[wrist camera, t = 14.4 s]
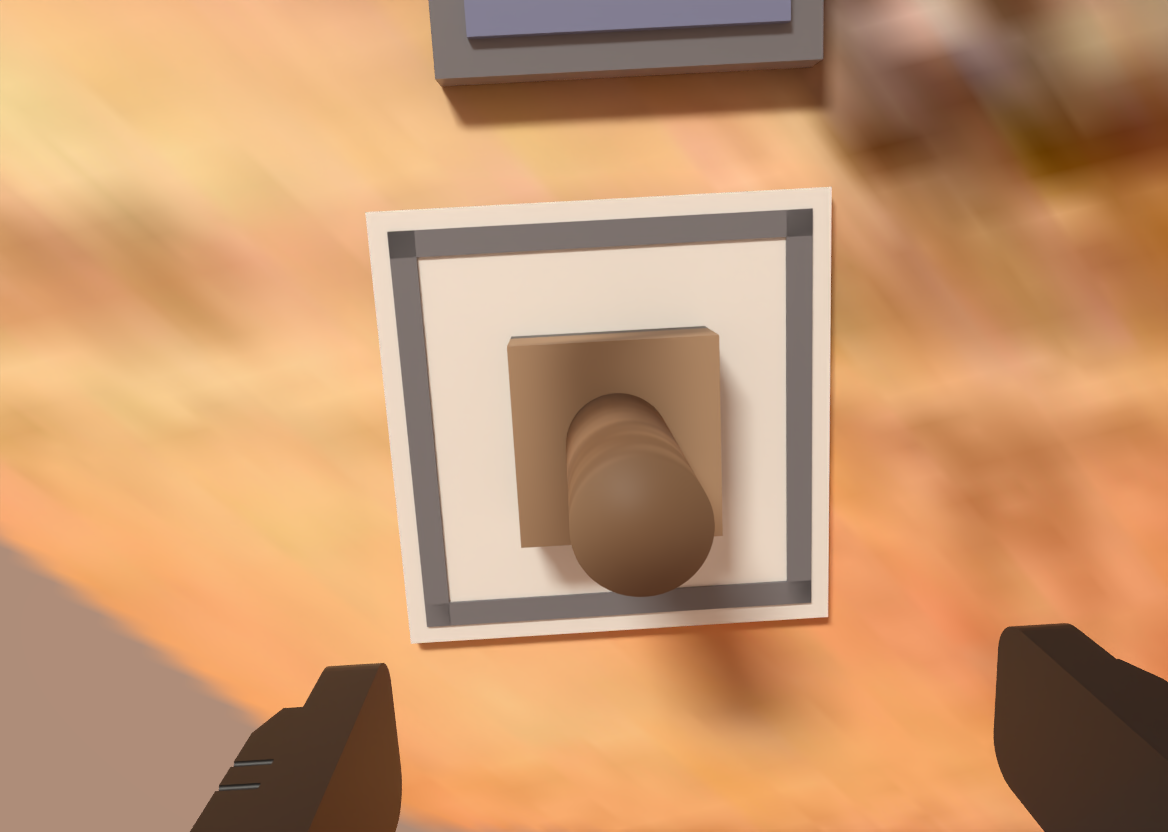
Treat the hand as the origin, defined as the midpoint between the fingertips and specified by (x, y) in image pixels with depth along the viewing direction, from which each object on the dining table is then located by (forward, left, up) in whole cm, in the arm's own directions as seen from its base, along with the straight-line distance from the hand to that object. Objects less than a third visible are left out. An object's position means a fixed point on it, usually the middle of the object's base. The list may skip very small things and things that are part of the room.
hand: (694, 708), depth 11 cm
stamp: (0, 0, -16) cm, 16 cm away
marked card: (0, 0, -17) cm, 17 cm away
